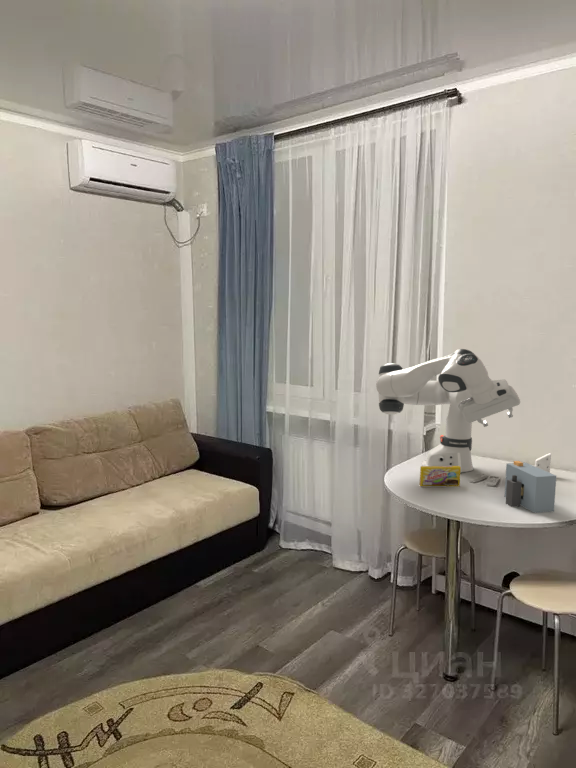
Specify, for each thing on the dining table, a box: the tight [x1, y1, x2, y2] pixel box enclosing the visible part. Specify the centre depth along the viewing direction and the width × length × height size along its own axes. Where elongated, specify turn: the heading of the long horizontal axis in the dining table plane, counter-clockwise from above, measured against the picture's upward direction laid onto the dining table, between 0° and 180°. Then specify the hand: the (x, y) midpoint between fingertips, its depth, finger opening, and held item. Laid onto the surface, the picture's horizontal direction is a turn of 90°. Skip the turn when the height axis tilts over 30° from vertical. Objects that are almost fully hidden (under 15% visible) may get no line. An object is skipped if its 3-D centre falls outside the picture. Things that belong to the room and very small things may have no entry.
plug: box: [505, 475, 524, 508], centre depth 215 cm, size 8×4×11 cm, turn 103°
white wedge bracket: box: [534, 452, 552, 473], centre depth 253 cm, size 4×10×9 cm, turn 84°
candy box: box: [419, 466, 461, 487], centre depth 236 cm, size 16×2×8 cm, turn 95°
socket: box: [504, 460, 557, 514], centre depth 216 cm, size 8×18×14 cm, turn 13°
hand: (498, 421), depth 218 cm, fingers open, 8 cm apart
